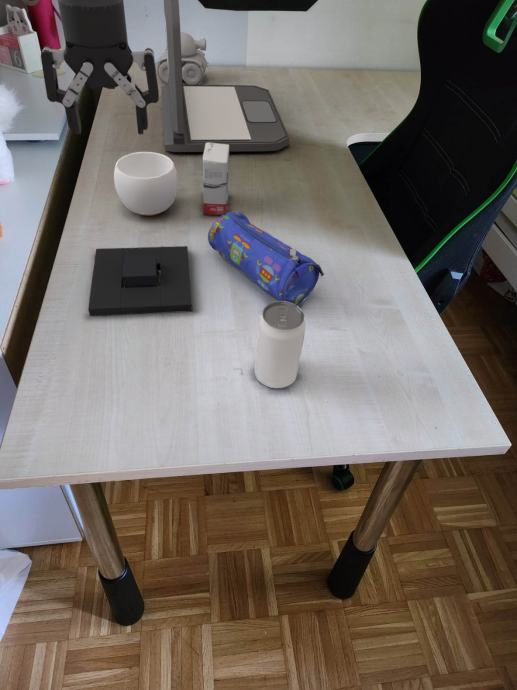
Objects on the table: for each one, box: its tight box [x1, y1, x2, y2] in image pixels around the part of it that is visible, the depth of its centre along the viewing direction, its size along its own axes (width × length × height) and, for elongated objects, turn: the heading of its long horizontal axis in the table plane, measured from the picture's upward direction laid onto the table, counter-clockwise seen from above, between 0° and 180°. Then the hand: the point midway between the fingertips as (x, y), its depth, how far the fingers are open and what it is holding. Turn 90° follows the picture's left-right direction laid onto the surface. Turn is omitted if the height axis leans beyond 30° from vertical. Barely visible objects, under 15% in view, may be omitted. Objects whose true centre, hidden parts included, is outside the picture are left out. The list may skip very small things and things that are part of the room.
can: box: [253, 300, 307, 389], centre depth 73 cm, size 6×6×12 cm
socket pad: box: [87, 245, 193, 317], centre depth 90 cm, size 16×16×2 cm
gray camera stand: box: [160, 0, 290, 153], centre depth 128 cm, size 38×31×32 cm
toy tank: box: [156, 31, 209, 85], centre depth 154 cm, size 15×11×13 cm
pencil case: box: [207, 211, 325, 307], centre depth 90 cm, size 22×9×10 cm, turn 41°
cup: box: [113, 151, 178, 217], centre depth 104 cm, size 12×12×10 cm
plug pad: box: [122, 256, 158, 288], centre depth 89 cm, size 6×6×4 cm
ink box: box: [202, 143, 230, 216], centre depth 105 cm, size 9×5×12 cm, turn 179°
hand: (109, 131), depth 72 cm, fingers open, 8 cm apart
